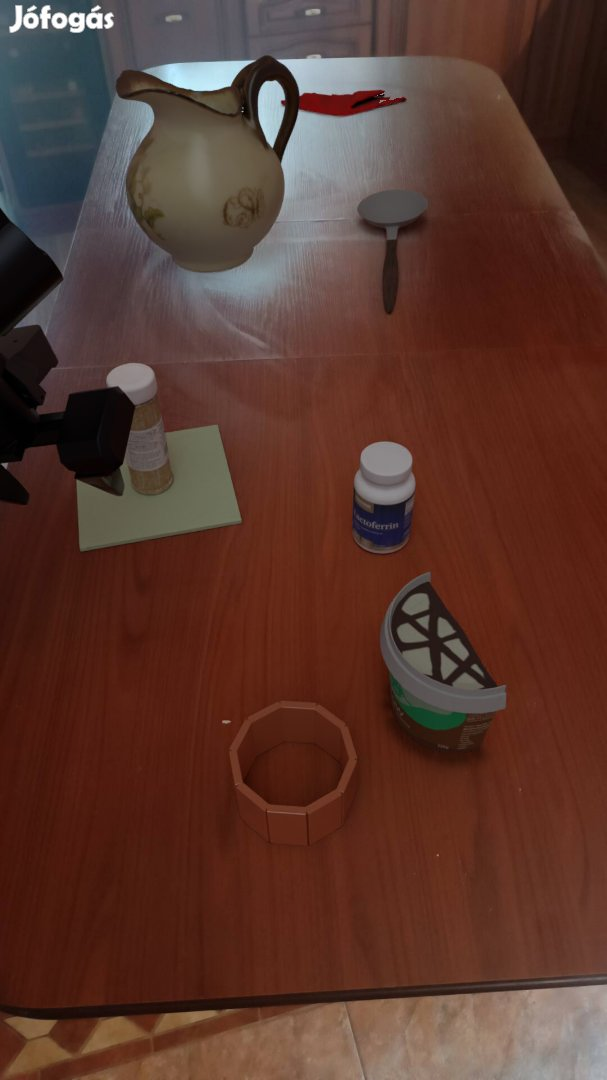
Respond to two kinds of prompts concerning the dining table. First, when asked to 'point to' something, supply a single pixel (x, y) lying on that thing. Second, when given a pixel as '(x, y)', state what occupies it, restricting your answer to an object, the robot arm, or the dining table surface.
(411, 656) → the food container
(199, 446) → the placemat
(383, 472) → the pill bottle
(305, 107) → the cloth
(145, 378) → the sprinkles bottle
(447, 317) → the dining table surface
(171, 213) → the pitcher
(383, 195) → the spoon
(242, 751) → the brown hollow polygonal ring
